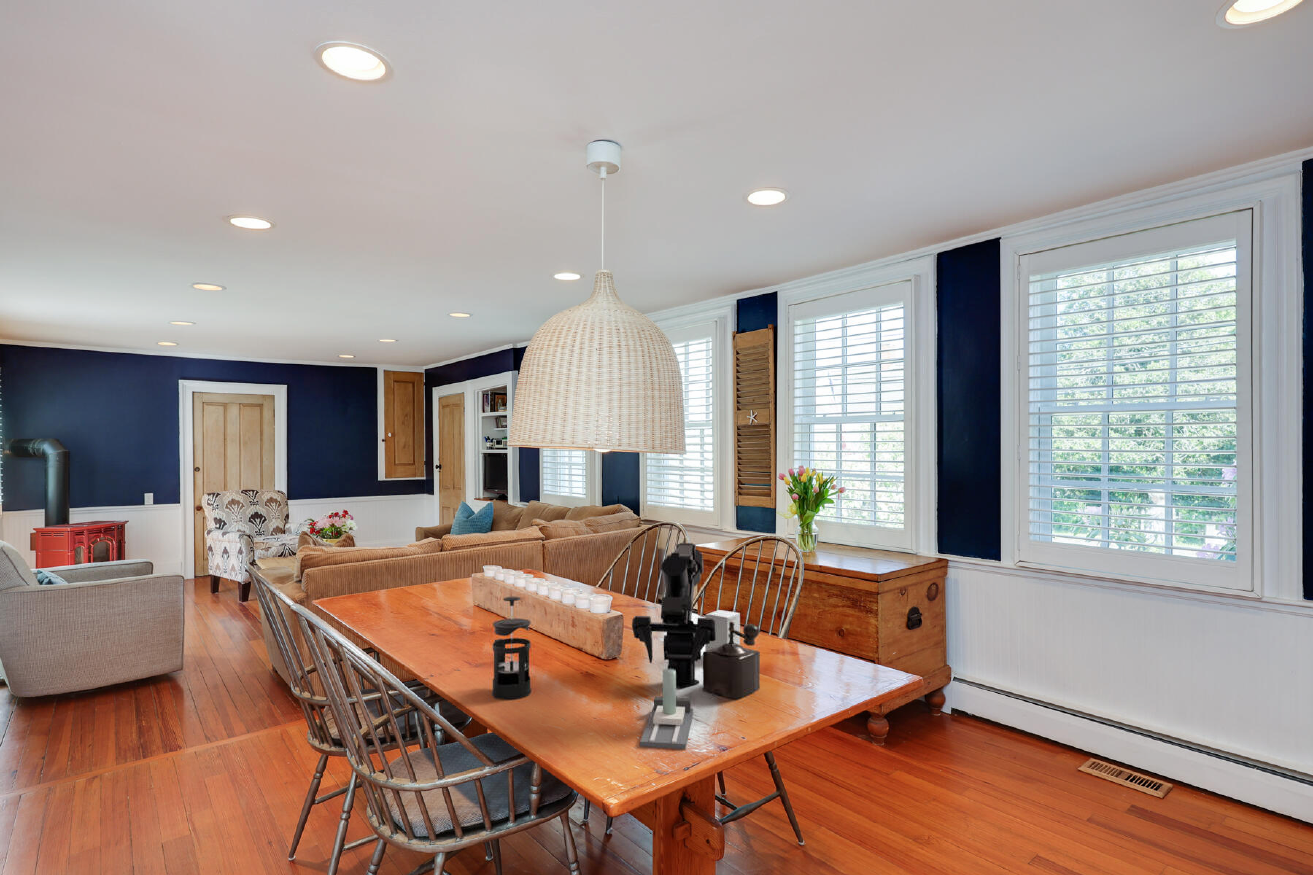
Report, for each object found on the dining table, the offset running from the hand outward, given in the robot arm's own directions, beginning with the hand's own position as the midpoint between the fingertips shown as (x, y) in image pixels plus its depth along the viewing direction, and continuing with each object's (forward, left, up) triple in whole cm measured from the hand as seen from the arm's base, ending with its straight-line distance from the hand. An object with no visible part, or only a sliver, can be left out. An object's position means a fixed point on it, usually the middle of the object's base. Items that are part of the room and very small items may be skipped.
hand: (671, 662), depth 152 cm
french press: (+19, -38, -12) cm, 44 cm away
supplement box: (-40, -24, -12) cm, 48 cm away
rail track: (+4, +4, -12) cm, 13 cm away
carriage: (+3, +3, -10) cm, 11 cm away
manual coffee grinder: (-23, -2, -12) cm, 26 cm away
